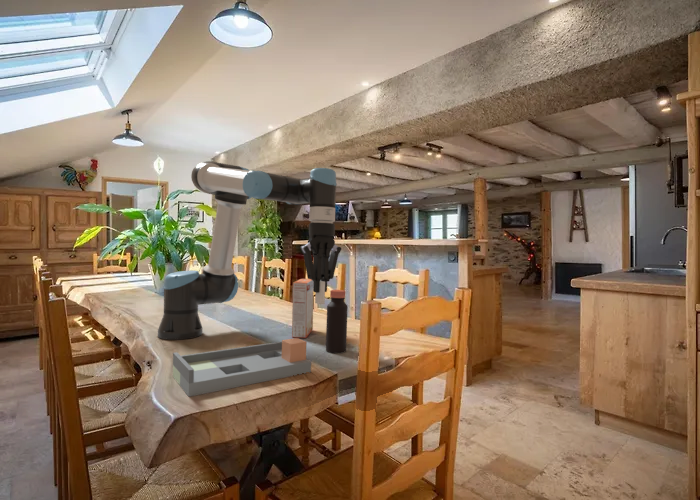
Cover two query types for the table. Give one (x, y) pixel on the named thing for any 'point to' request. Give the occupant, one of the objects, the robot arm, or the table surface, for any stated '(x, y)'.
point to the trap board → (233, 368)
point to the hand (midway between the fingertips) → (319, 303)
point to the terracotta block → (294, 350)
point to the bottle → (336, 323)
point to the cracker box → (302, 308)
